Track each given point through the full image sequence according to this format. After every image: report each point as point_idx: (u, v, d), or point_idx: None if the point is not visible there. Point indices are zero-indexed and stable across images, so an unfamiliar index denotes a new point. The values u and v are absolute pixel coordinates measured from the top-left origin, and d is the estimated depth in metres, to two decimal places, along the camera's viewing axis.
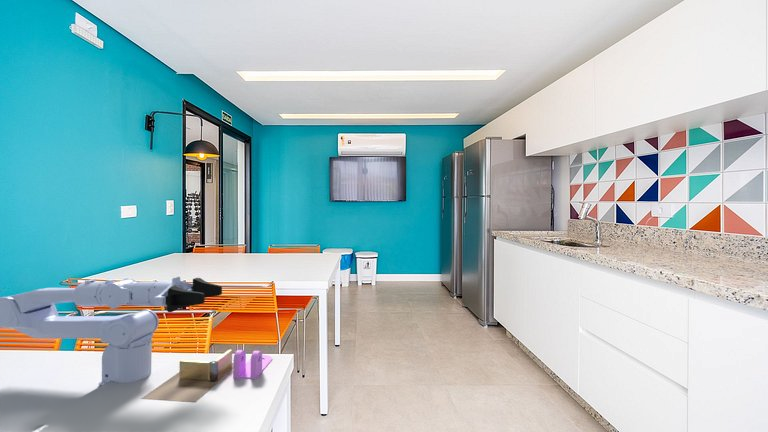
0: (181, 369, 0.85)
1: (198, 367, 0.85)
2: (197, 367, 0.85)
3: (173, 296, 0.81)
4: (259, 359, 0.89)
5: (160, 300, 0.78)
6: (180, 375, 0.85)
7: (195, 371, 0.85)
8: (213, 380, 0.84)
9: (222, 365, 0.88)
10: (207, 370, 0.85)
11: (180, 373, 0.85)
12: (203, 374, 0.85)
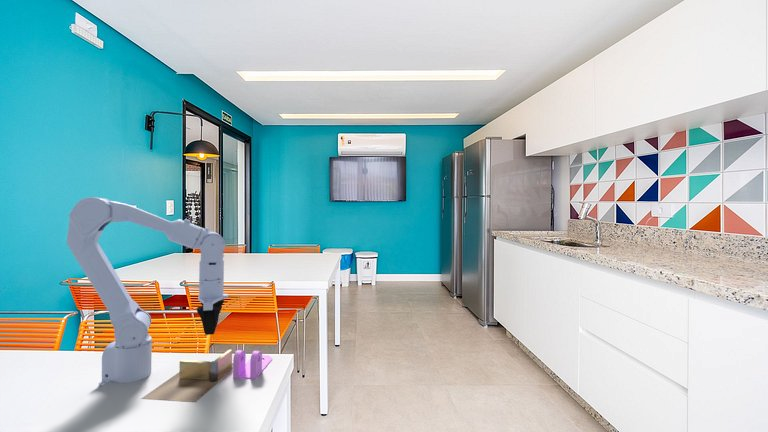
0: (181, 369, 0.85)
1: (198, 367, 0.85)
2: (197, 367, 0.85)
3: None
4: (259, 359, 0.89)
5: (209, 308, 0.87)
6: (180, 375, 0.85)
7: (195, 371, 0.85)
8: (213, 380, 0.84)
9: (222, 365, 0.88)
10: (207, 370, 0.85)
11: (180, 373, 0.85)
12: (203, 374, 0.85)
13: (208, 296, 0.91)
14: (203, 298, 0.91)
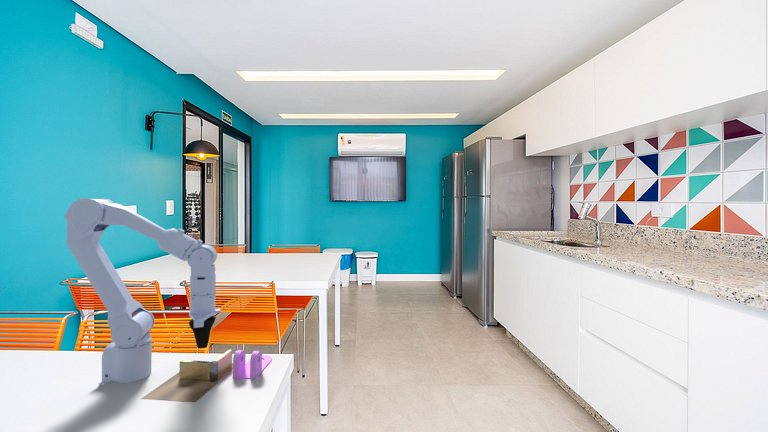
0: (181, 369, 0.85)
1: (198, 367, 0.85)
2: (197, 367, 0.85)
3: None
4: (259, 359, 0.89)
5: (200, 325, 0.84)
6: (180, 375, 0.85)
7: (195, 371, 0.85)
8: (213, 380, 0.84)
9: (222, 365, 0.88)
10: (207, 370, 0.85)
11: (180, 373, 0.85)
12: (203, 374, 0.85)
13: (199, 312, 0.88)
14: (194, 314, 0.88)
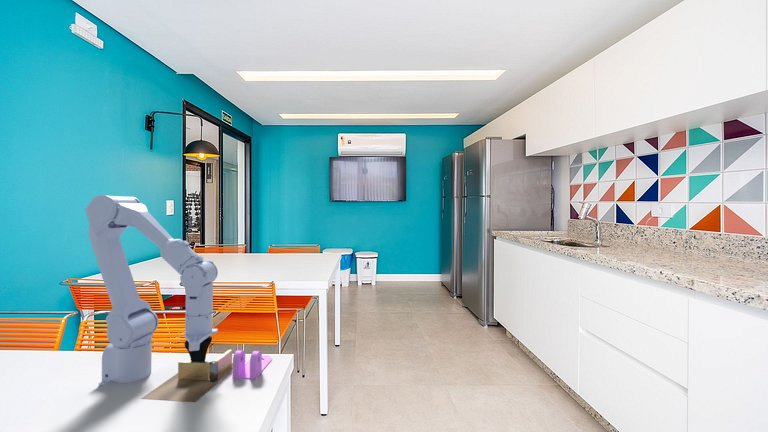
0: (180, 370, 0.85)
1: (197, 368, 0.85)
2: (197, 367, 0.85)
3: None
4: (258, 359, 0.89)
5: (195, 348, 0.79)
6: (179, 376, 0.85)
7: (195, 372, 0.85)
8: (213, 380, 0.84)
9: (222, 365, 0.88)
10: (207, 370, 0.85)
11: (179, 374, 0.85)
12: (203, 374, 0.85)
13: (195, 333, 0.83)
14: (189, 335, 0.83)
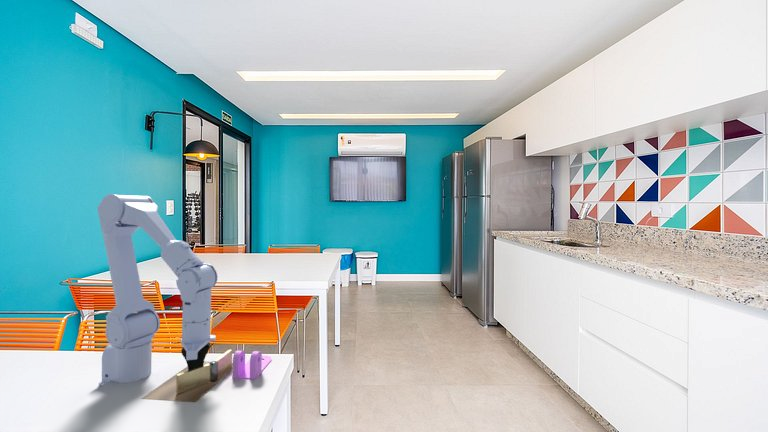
0: (181, 383, 0.79)
1: (199, 373, 0.82)
2: (198, 373, 0.82)
3: None
4: (258, 360, 0.88)
5: (193, 357, 0.76)
6: (179, 390, 0.78)
7: (196, 379, 0.81)
8: (213, 380, 0.84)
9: (222, 365, 0.88)
10: (209, 372, 0.84)
11: (179, 388, 0.78)
12: (205, 378, 0.83)
13: (192, 341, 0.79)
14: (186, 343, 0.79)
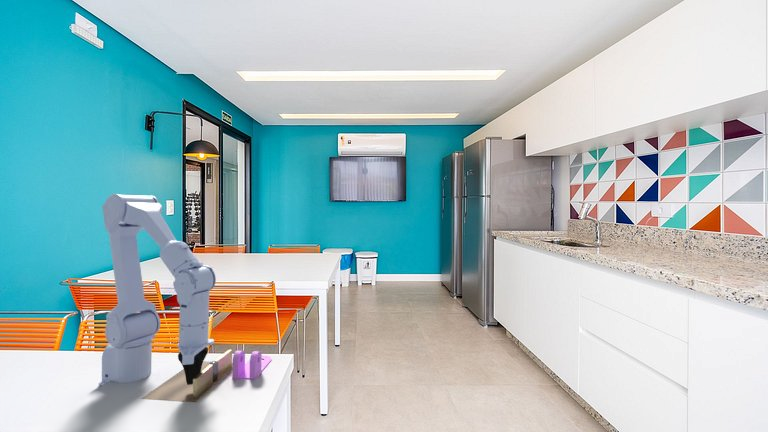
0: (198, 386, 0.77)
1: (207, 374, 0.81)
2: (207, 374, 0.81)
3: None
4: (258, 360, 0.88)
5: (189, 362, 0.73)
6: (197, 393, 0.77)
7: (206, 380, 0.81)
8: (213, 380, 0.84)
9: (222, 365, 0.88)
10: (212, 372, 0.84)
11: (197, 391, 0.77)
12: (210, 378, 0.83)
13: (189, 345, 0.77)
14: (183, 347, 0.77)
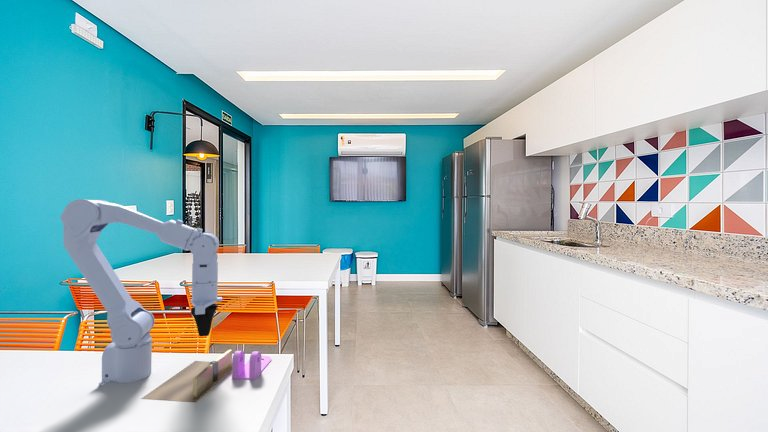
0: (198, 386, 0.77)
1: (207, 374, 0.81)
2: (207, 374, 0.81)
3: None
4: (258, 360, 0.88)
5: (201, 312, 0.84)
6: (197, 393, 0.77)
7: (206, 380, 0.81)
8: (213, 380, 0.84)
9: (222, 365, 0.88)
10: (212, 372, 0.84)
11: (197, 391, 0.77)
12: (210, 378, 0.83)
13: (201, 299, 0.88)
14: (196, 301, 0.88)
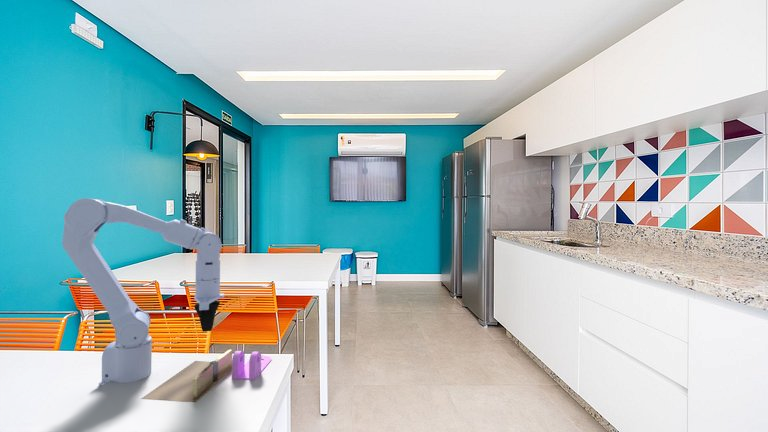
0: (198, 386, 0.77)
1: (207, 374, 0.81)
2: (207, 374, 0.81)
3: None
4: (258, 360, 0.88)
5: (205, 308, 0.88)
6: (197, 393, 0.77)
7: (206, 380, 0.81)
8: (213, 380, 0.84)
9: (222, 365, 0.88)
10: (212, 372, 0.84)
11: (197, 391, 0.77)
12: (210, 378, 0.83)
13: (204, 296, 0.91)
14: (199, 298, 0.91)
